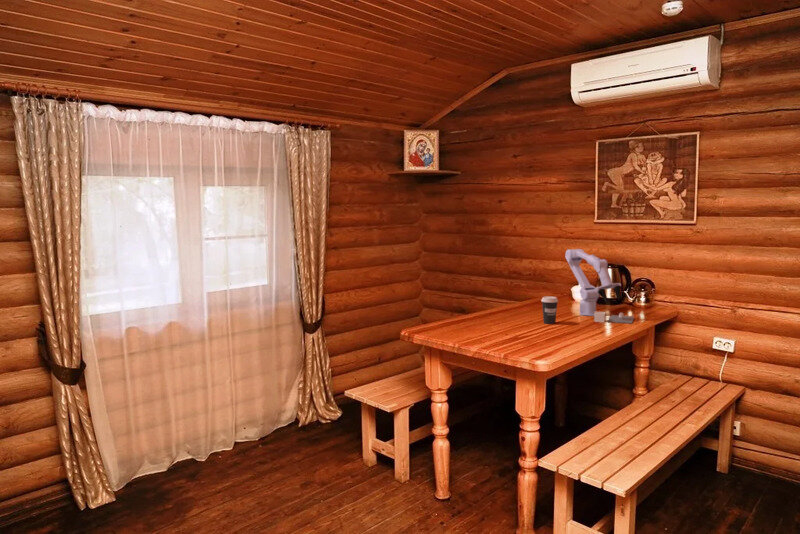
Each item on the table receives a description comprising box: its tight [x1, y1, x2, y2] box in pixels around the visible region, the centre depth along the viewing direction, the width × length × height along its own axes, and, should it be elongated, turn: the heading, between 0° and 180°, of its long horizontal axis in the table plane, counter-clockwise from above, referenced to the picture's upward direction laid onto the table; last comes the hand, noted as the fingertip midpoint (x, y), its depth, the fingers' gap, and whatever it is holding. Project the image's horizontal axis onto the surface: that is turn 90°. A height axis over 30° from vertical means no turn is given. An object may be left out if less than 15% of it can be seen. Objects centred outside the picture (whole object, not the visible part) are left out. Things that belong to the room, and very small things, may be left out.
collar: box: [593, 311, 607, 323], centre depth 334 cm, size 6×6×5 cm
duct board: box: [607, 312, 635, 325], centre depth 336 cm, size 13×18×4 cm
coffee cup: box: [540, 295, 559, 325], centre depth 331 cm, size 10×10×15 cm
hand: (613, 300), depth 332 cm, fingers open, 7 cm apart
